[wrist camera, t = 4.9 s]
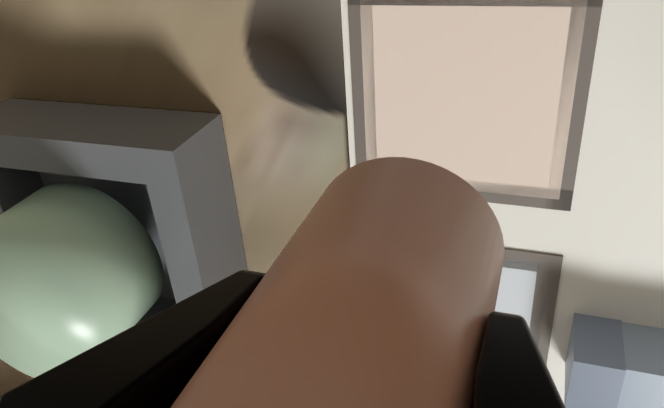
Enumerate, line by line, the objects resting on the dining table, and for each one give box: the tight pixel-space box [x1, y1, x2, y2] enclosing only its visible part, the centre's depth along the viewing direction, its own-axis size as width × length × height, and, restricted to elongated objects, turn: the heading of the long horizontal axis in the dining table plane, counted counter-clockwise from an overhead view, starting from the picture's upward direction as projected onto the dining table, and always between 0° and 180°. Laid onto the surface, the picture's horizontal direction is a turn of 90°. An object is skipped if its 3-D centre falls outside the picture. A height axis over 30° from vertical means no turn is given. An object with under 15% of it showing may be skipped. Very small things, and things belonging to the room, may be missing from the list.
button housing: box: [0, 98, 247, 324], centre depth 20 cm, size 8×8×3 cm
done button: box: [0, 181, 164, 378], centre depth 18 cm, size 5×5×3 cm
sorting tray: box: [341, 0, 664, 403], centre depth 15 cm, size 13×14×1 cm
